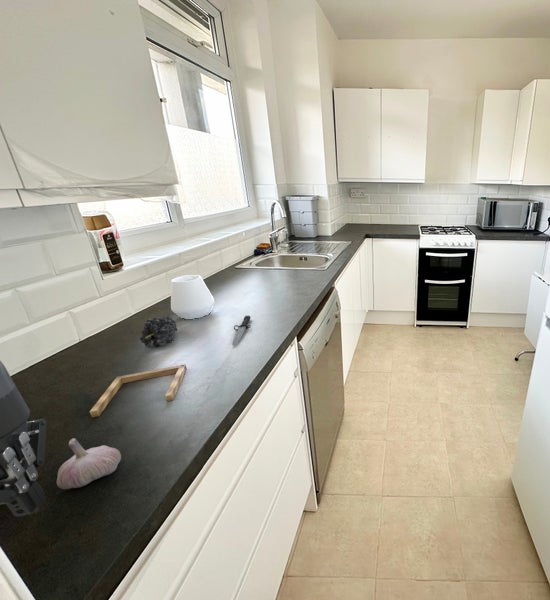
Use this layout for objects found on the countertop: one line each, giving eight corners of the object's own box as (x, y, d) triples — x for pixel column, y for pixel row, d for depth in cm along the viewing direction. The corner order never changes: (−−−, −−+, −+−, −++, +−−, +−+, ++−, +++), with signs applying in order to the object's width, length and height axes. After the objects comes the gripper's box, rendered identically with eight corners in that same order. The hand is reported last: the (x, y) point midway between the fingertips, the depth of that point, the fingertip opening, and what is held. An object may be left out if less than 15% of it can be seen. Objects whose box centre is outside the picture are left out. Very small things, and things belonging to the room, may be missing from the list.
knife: (241, 341, 91) (222, 343, 90) (242, 347, 92) (224, 349, 91) (254, 314, 108) (238, 315, 107) (255, 319, 109) (240, 320, 108)
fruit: (158, 304, 99) (135, 322, 86) (188, 308, 102) (171, 327, 89) (155, 328, 101) (133, 350, 88) (185, 332, 104) (168, 354, 91)
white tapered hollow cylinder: (225, 311, 116) (216, 275, 111) (188, 325, 105) (177, 286, 100) (202, 305, 122) (193, 271, 117) (166, 318, 111) (154, 281, 106)
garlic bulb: (48, 498, 48) (24, 460, 45) (88, 459, 55) (70, 423, 52) (100, 494, 49) (80, 456, 46) (133, 455, 56) (118, 420, 53)
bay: (173, 400, 69) (171, 394, 69) (92, 417, 65) (89, 411, 64) (187, 368, 81) (185, 364, 80) (119, 381, 76) (116, 376, 76)
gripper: (-36, 373, 38) (29, 476, 44) (-168, 457, 27) (-56, 579, 33) (45, 360, 41) (95, 459, 47) (-45, 432, 29) (38, 550, 35)
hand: (33, 509), depth 40 cm, fingers closed
